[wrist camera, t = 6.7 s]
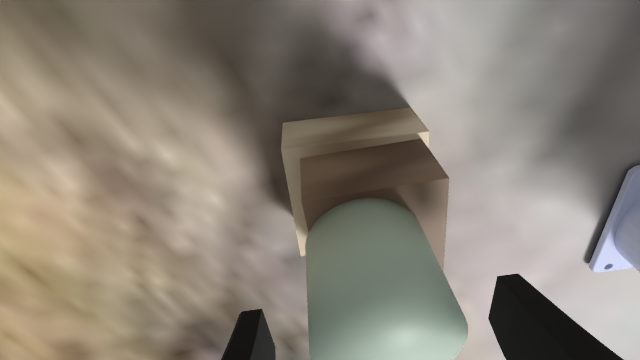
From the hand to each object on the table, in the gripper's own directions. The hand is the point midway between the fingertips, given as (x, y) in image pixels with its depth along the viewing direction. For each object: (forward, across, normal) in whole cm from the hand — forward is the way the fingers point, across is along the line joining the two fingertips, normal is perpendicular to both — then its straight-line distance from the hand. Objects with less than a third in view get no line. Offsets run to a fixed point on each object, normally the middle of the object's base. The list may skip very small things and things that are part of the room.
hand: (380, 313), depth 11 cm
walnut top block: (+6, 0, 0) cm, 6 cm away
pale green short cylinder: (+3, 0, 0) cm, 3 cm away
